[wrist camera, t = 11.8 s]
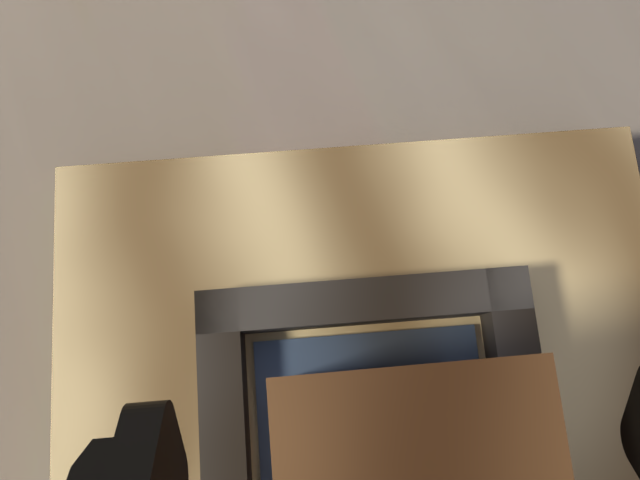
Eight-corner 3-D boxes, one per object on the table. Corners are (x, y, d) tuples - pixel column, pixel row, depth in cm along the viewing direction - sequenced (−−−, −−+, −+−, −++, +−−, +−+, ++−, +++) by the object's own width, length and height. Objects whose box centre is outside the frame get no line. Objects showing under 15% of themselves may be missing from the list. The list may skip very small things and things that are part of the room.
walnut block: (300, 549, 16) (287, 710, 8) (287, 377, 17) (265, 377, 9) (467, 533, 16) (607, 676, 8) (445, 363, 17) (553, 352, 9)
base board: (67, 823, 16) (19, 909, 14) (74, 182, 20) (38, 153, 18) (726, 757, 17) (804, 829, 14) (607, 144, 21) (650, 109, 18)
